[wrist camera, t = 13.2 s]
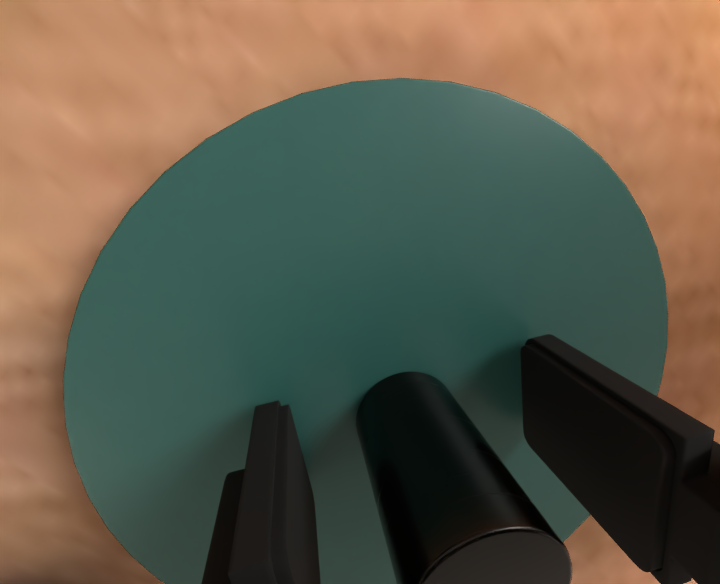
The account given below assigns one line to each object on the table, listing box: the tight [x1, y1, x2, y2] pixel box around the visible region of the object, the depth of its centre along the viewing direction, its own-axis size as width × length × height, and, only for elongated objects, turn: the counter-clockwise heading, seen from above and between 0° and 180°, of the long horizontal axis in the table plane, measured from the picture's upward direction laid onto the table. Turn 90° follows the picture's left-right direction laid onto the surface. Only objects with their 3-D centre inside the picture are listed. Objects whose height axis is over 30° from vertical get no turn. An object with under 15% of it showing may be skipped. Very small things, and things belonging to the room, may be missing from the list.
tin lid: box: [63, 78, 668, 584], centre depth 8 cm, size 16×16×6 cm
